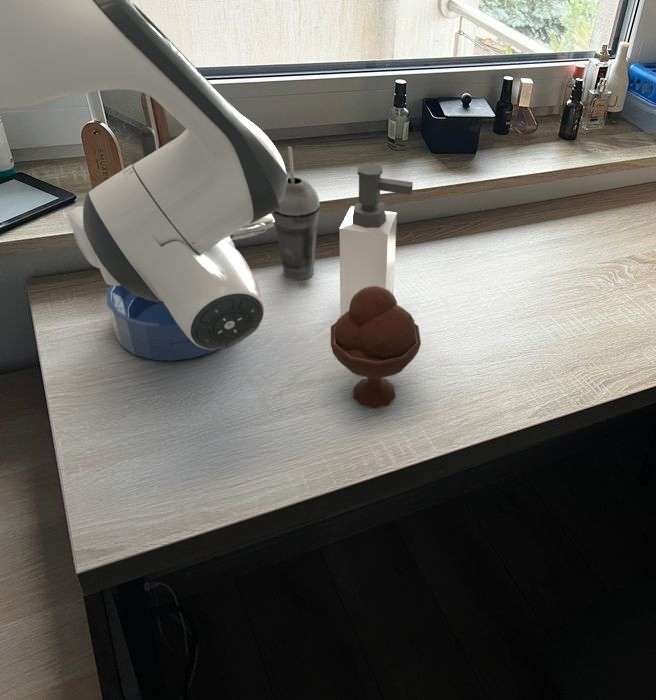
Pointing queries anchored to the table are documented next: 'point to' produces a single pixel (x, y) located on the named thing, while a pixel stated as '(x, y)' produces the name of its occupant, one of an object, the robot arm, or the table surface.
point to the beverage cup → (297, 226)
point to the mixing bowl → (148, 327)
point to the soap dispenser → (369, 236)
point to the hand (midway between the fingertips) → (156, 189)
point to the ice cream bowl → (375, 343)
